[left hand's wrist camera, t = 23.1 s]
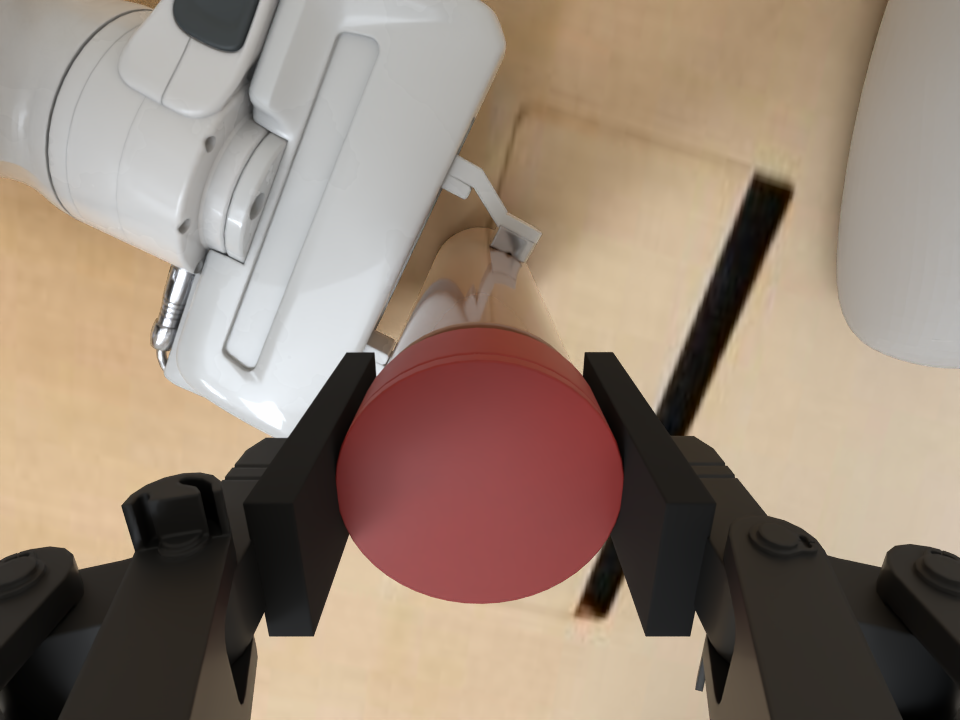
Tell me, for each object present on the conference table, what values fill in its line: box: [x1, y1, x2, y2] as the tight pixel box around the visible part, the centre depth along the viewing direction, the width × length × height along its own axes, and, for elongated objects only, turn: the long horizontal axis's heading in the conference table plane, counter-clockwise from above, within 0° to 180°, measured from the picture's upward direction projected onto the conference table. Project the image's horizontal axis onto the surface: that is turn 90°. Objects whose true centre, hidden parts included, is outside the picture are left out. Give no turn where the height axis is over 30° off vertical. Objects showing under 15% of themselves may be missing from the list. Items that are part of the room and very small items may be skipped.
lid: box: [336, 328, 624, 604], centre depth 11 cm, size 6×6×2 cm
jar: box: [388, 227, 572, 364], centre depth 20 cm, size 5×5×20 cm
